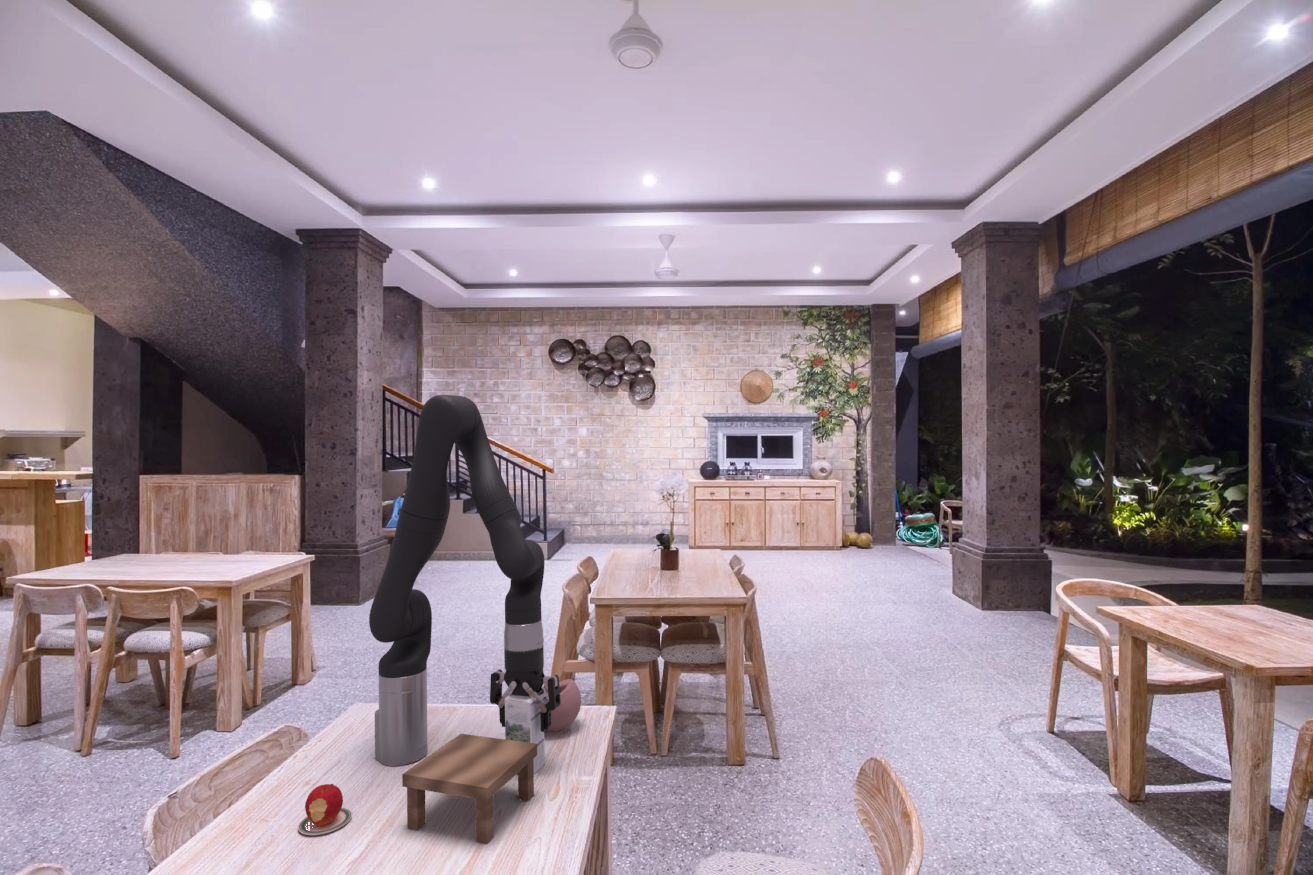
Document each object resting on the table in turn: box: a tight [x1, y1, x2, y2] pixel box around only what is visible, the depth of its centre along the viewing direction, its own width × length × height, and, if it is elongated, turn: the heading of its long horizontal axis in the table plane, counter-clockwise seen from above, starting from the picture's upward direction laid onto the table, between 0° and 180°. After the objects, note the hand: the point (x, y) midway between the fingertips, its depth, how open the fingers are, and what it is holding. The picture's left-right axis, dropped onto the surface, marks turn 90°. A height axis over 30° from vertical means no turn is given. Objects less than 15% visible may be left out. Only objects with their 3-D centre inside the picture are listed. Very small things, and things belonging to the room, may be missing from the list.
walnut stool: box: [401, 733, 537, 845], centre depth 110 cm, size 16×16×9 cm
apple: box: [297, 783, 353, 836], centre depth 108 cm, size 8×8×6 cm
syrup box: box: [504, 693, 546, 775], centre depth 125 cm, size 6×6×14 cm
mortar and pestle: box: [543, 678, 582, 733], centre depth 143 cm, size 12×12×12 cm
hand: (525, 727), depth 125 cm, fingers open, 8 cm apart
